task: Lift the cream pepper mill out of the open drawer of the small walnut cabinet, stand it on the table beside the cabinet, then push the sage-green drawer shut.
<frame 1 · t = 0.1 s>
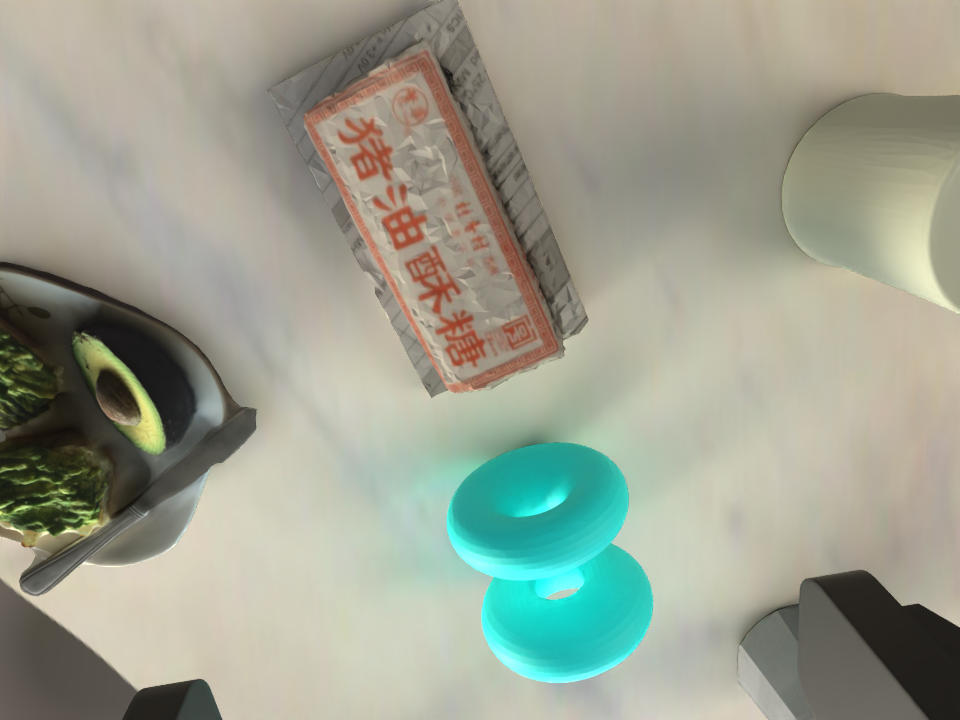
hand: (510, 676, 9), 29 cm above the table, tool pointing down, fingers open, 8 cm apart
coffeepot: (780, 656, 49), on the table
packaged product: (441, 212, 36), on the table
donuts: (537, 504, 43), on the table
can: (860, 183, 37), on the table
salad plate: (83, 413, 38), on the table
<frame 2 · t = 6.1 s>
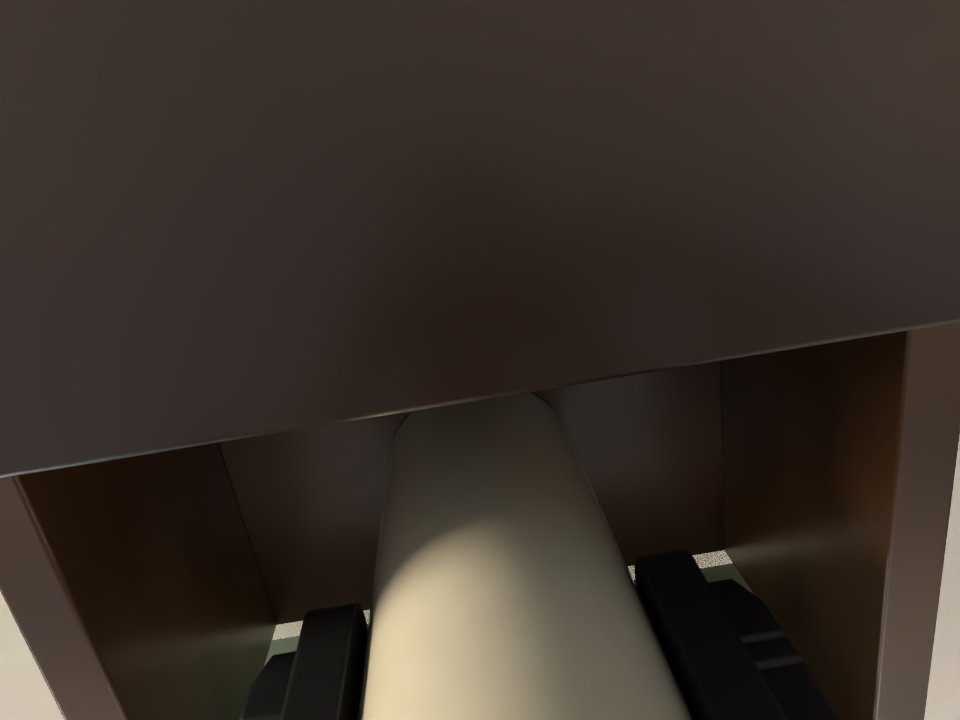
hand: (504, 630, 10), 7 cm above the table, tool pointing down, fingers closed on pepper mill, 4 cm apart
pepper mill: (481, 467, 14), point 2 cm above the table, touching drawer, gripper
drawer: (499, 580, 13), point 4 cm above the table, slide at 9.0 cm, touching pepper mill
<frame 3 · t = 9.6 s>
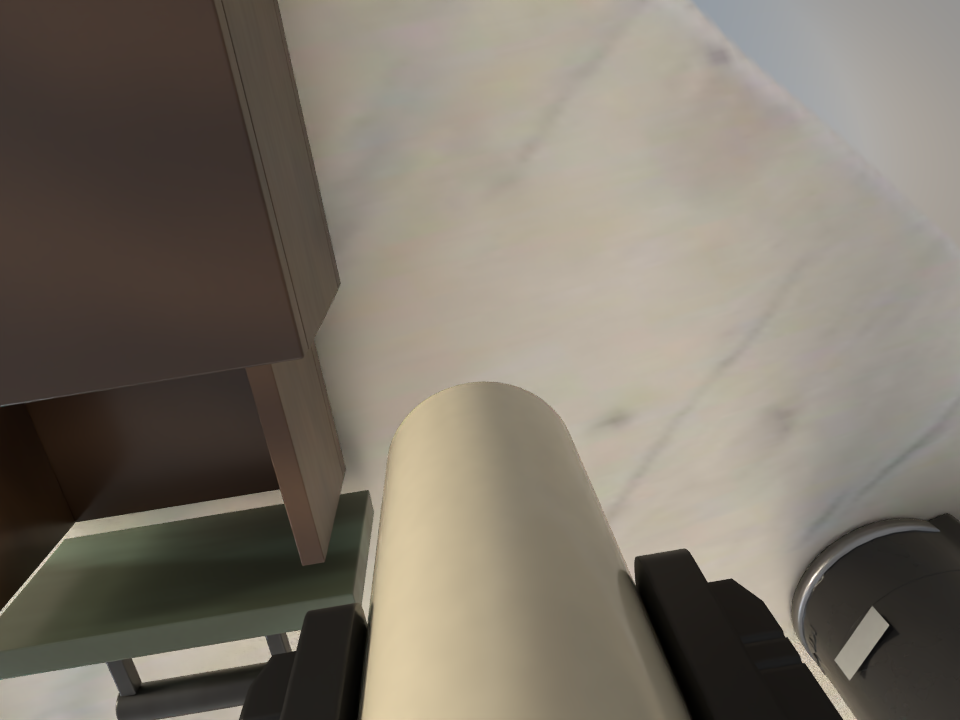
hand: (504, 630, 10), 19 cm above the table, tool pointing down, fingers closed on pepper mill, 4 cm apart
pepper mill: (481, 467, 14), point 14 cm above the table, touching gripper
drawer: (165, 488, 25), point 4 cm above the table, slide at 9.0 cm
cabinet: (98, 122, 24), on the table
when the fingers open (5 cm above the table, at t = 13.2 s): pepper mill stays where it is, on the table.
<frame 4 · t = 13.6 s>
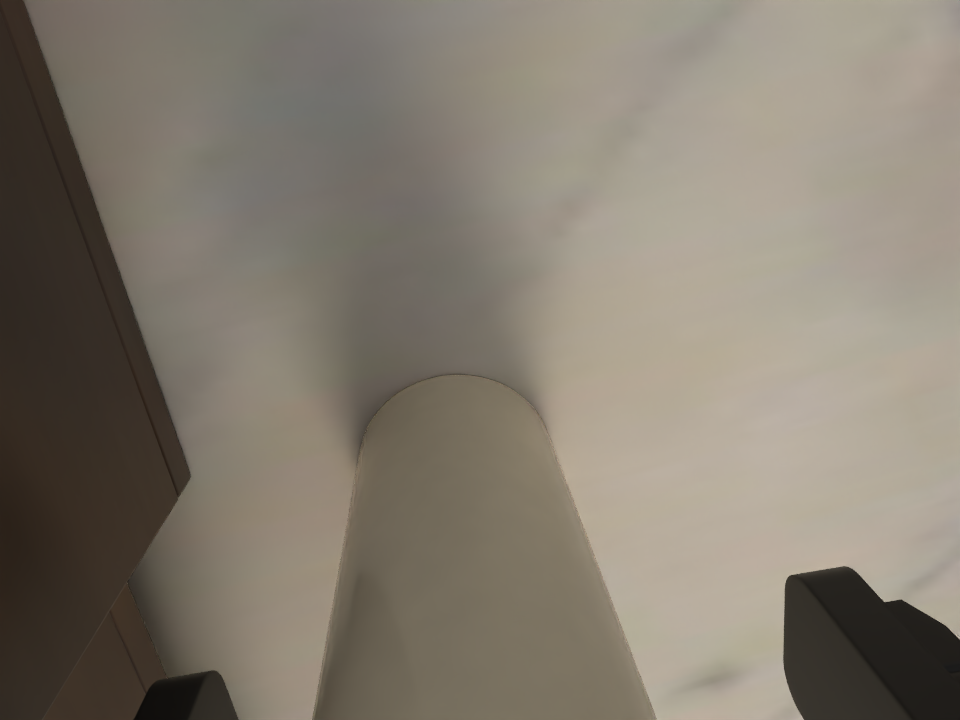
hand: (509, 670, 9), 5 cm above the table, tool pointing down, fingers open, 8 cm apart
pepper mill: (456, 461, 14), on the table
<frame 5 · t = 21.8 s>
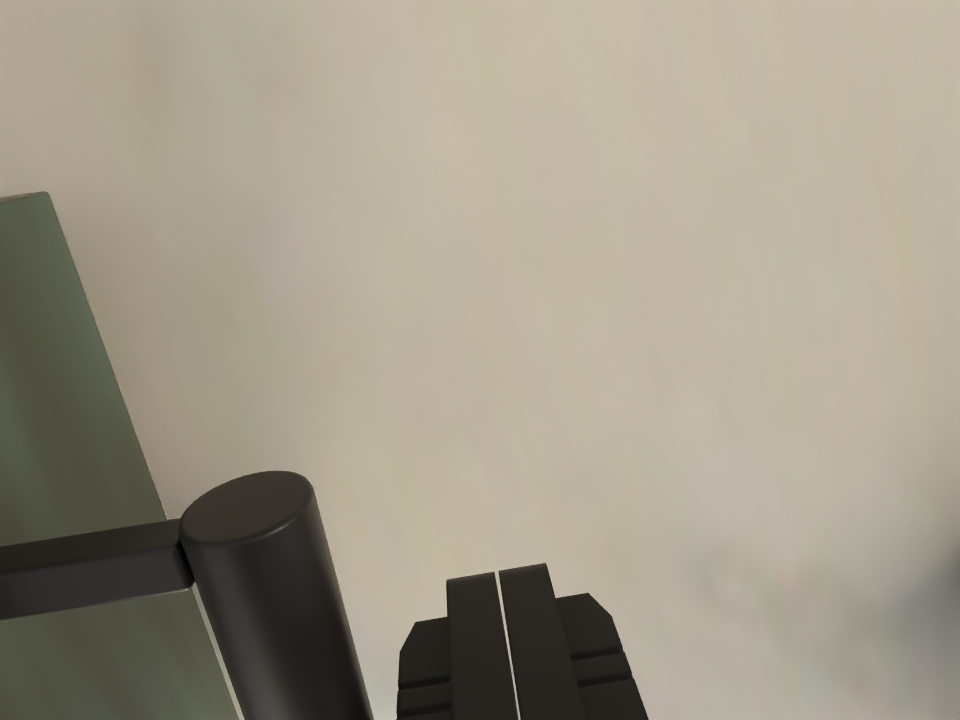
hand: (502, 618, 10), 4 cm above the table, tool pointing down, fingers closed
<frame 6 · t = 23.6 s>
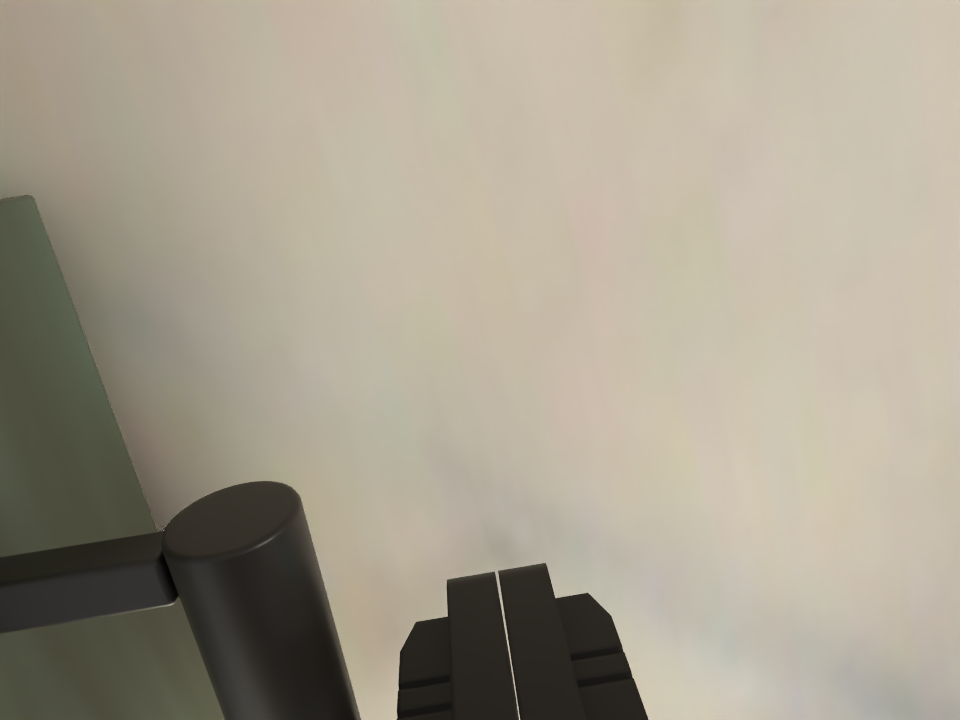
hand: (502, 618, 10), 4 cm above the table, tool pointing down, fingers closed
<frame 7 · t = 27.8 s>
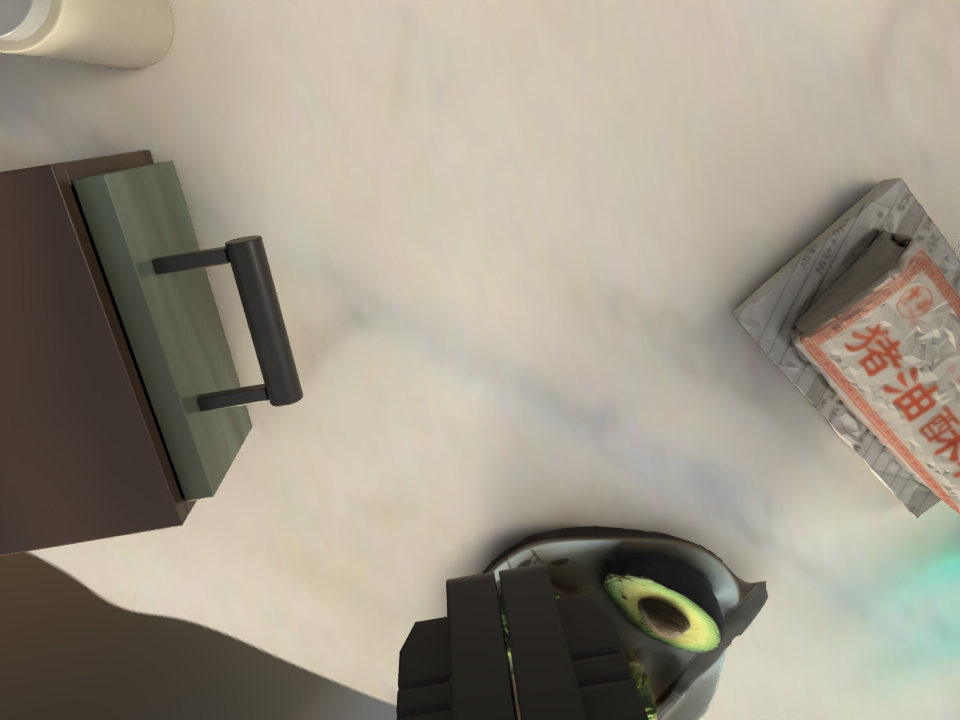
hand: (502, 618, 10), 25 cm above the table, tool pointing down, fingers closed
packaged product: (890, 355, 37), on the table
pepper mill: (125, 18, 29), on the table
salad plate: (598, 625, 42), on the table
drawer: (87, 341, 29), point 4 cm above the table, slide at 0.0 cm, touching cabinet
cabinet: (50, 325, 33), on the table
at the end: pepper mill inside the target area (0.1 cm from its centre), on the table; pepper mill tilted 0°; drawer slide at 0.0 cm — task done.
